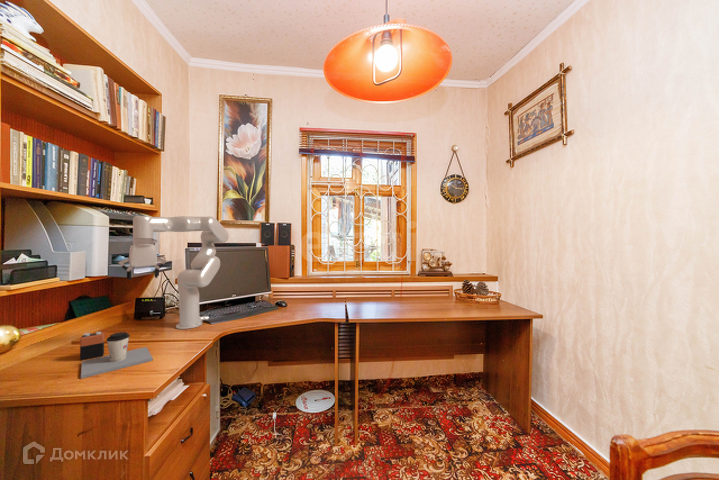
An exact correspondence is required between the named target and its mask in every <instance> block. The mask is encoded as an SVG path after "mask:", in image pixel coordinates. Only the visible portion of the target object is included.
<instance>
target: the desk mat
mask: <svg viewBox="0 0 719 480" xmlns="http://www.w3.org/2000/svg"><path fill="white" fill-rule="evenodd" d="M153 359H154V357H153V356H152V354H151V352H150V351H149V349H148V347H147V346H145V347H144V346H143V347H139V348H135V349H131V350H127V353H126V358H125V359H124V360H121V361H117V362H111V361H110V356H109V354H108V355H105V356H104V355H103V356H101V357H96V358H91V359H86V360H81V369H80V370H81V371H80V379H86V378H89V377H93V376H97V375H100V374H104V373H109V372H112V371H116V370H121V369H124V368H128V367H132V366H133V367H134V366H136V365H140V364H144V363H147V362H148V363H149V362H152V361H153Z"/></svg>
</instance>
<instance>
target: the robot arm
mask: <svg viewBox="0 0 719 480" xmlns="http://www.w3.org/2000/svg"><path fill="white" fill-rule="evenodd" d="M166 232H173V233H174V232H175V233H187V232H201V233H200V242H201V248H200V249H199V251H198V253H197V254H196V256H195V257H194V258H193V259H192V260H191V262H190V268H191V269H184V270H182V271H180V272H179V273H178V275H177V278H176V281H177V285H178V292H179V294H178V295H179V296H178V297H179V301H178V302H179V305H178V306H179V309H178V311H179V313H178V314H179V315H178V316H179V319H178V321H179V323H177V324H176V325H175V329H179V330H188V329H193V328H197V327H200V326H202V325H203V321H209V318H210V317H209V315H207V316H206V315H204V316H201V315H200V291H199V289H198V288H204V287H208V286H209V285H210V284H211V282H212V280H213V279H214V278H215V276H216V274H218V271H219V269H220V267H221V260H220V258H219V257H218V256H216V255H217V250H216V246H215V244H224V243H225V242H227V241H228V240H229V232H228V230H227V229H226V228H225V227H224V226H223V225H222V224H221V223H220V221H218V219H217V218H215V217H213V216H185V215H184V216H170V217H169V216H168V217H165V216H149V215H148V216H147V215H135V216H134V217H133V218H132V245H130V248H129V254H128V257H127V258H124V259H122V260H120V261H118V265H120V267H121V268H122V269H123V270H125V271H126V279H128V280H129V281H132V269H134V267H135V268H139V267H153V268H155V269H154V278H156V279H157V278H158V277H160V269H161V268H163V267H164V265H165V264H166V262H167V260H166V259H164V258H161V257H159V256H158V254H157V246H156V245H155V244H156V243H158V239H155V238H154V233H166ZM158 261H160V264H158ZM127 262H128V265H129V266H128V267H127V266H126V265H125V263H127Z"/></svg>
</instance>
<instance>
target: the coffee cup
mask: <svg viewBox="0 0 719 480" xmlns="http://www.w3.org/2000/svg"><path fill="white" fill-rule="evenodd" d="M129 338H130V334H129V333H128V332H125V331H120V332H114V333H112V334H110V335H109V336H108V337H107V338H106V342H107V349H108V355H109V356H110V361H111V362H117V361H121V360H124V359H125V358H126V353H127V351H128V344H129Z"/></svg>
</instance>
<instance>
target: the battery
mask: <svg viewBox="0 0 719 480" xmlns="http://www.w3.org/2000/svg"><path fill="white" fill-rule="evenodd" d="M104 354H105V332H103V331H96V332H95V333H91V332H86V333H83V335H81V337H80V339H79V355H80V356H79V359H80V361H85V360H90V359H94V358H99V357H103V356H104Z"/></svg>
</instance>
